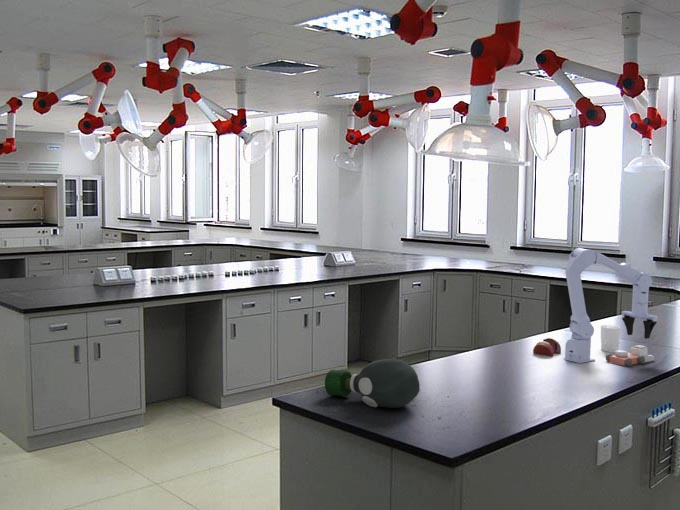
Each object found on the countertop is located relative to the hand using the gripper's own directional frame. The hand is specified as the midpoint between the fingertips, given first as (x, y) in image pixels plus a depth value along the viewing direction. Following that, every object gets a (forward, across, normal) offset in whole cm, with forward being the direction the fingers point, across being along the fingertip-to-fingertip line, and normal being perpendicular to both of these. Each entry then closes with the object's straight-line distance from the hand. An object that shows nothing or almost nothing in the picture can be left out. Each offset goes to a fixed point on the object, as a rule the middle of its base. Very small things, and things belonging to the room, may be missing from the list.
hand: (638, 336), depth 272 cm
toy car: (+9, 0, +5) cm, 10 cm away
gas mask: (+10, +5, +123) cm, 124 cm away
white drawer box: (+10, 0, 0) cm, 10 cm away
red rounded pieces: (+10, +26, +23) cm, 36 cm away
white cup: (+10, +17, -6) cm, 20 cm away
